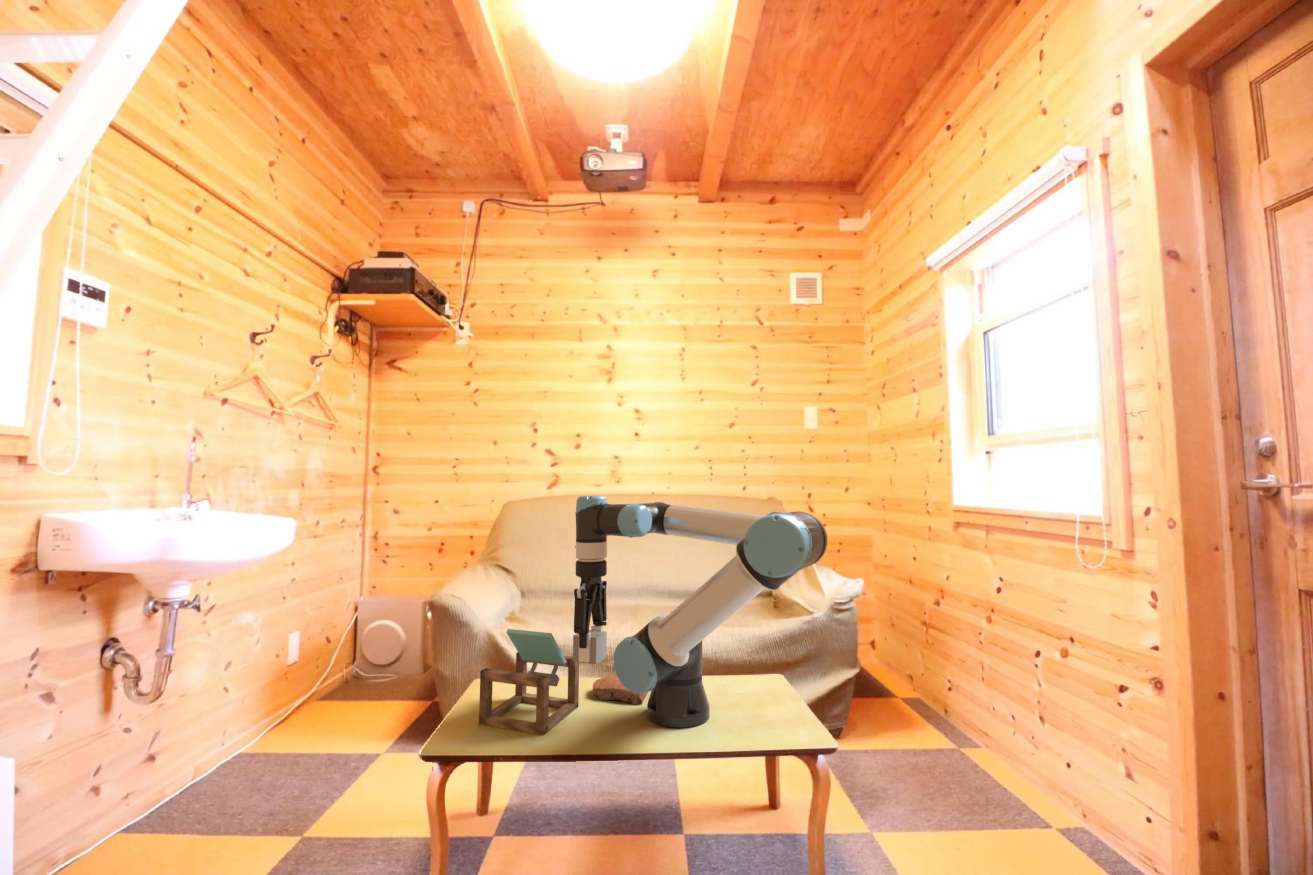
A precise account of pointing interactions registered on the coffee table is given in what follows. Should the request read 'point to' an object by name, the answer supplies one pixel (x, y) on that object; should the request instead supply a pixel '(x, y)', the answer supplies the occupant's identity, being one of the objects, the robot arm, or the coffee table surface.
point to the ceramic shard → (616, 690)
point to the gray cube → (592, 646)
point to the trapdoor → (538, 651)
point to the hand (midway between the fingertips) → (590, 657)
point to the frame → (527, 697)
